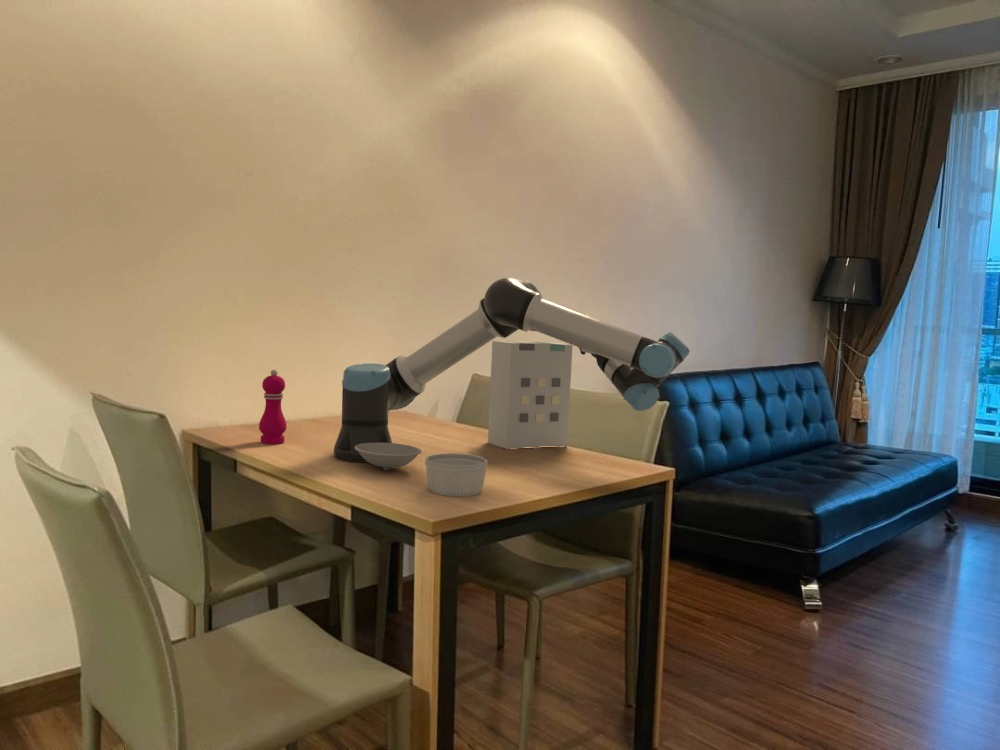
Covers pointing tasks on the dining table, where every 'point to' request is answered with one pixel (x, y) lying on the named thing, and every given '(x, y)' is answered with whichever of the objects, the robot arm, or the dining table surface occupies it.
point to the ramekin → (455, 474)
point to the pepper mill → (273, 410)
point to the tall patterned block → (529, 394)
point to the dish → (387, 454)
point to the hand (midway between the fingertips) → (576, 317)
